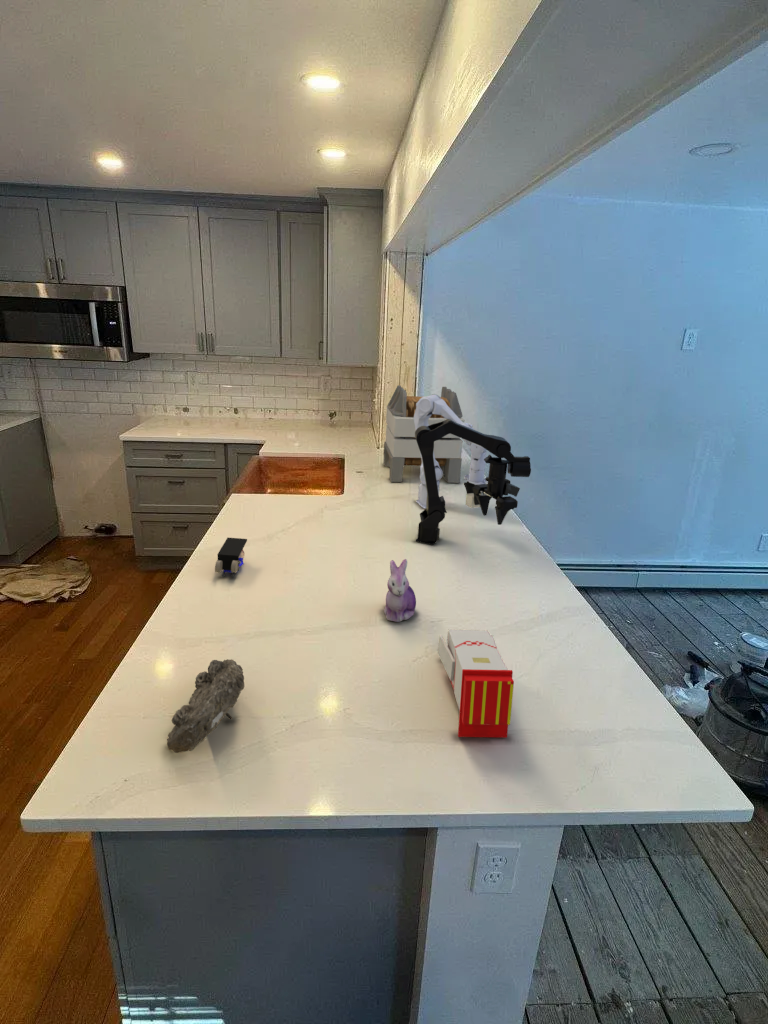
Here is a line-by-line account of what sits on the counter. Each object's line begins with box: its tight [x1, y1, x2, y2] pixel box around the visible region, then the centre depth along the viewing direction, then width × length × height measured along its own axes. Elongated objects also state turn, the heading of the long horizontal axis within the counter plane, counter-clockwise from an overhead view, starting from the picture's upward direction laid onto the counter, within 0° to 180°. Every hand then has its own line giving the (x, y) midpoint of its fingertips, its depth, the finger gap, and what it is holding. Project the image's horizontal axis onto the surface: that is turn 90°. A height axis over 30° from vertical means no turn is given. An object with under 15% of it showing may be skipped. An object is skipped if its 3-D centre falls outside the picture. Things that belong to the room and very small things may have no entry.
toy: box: [437, 628, 515, 738], centre depth 117 cm, size 12×13×30 cm
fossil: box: [166, 658, 245, 754], centre depth 106 cm, size 22×10×15 cm
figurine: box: [384, 558, 417, 623], centre depth 145 cm, size 9×10×15 cm
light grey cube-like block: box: [465, 493, 481, 509], centre depth 221 cm, size 4×5×4 cm
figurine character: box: [214, 537, 248, 578], centre depth 166 cm, size 7×8×15 cm
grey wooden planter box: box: [383, 384, 465, 484], centre depth 268 cm, size 34×33×41 cm
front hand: (492, 519), depth 193 cm, fingers open, 9 cm apart
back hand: (473, 502), depth 221 cm, fingers closed on light grey cube-like block, 4 cm apart
